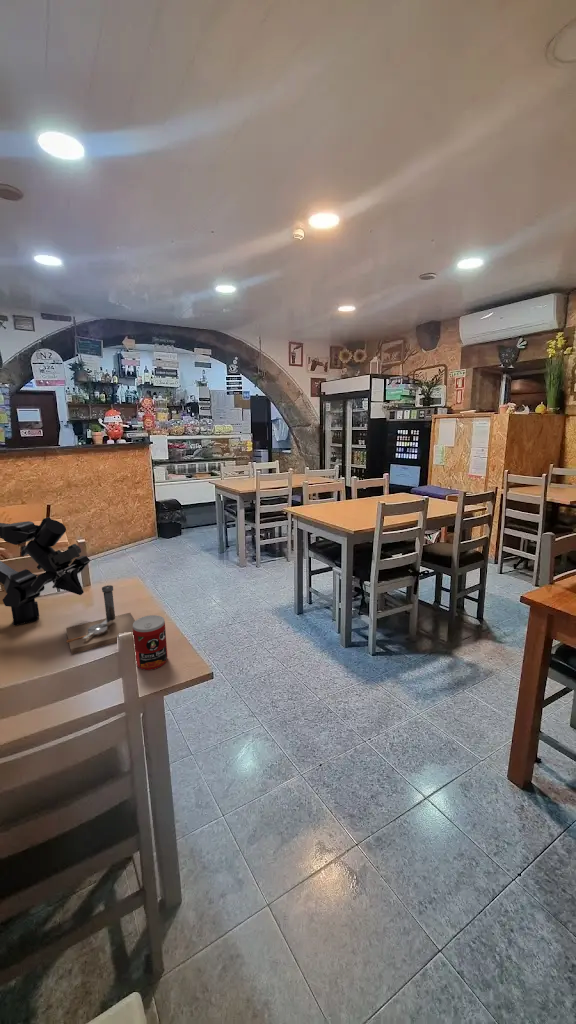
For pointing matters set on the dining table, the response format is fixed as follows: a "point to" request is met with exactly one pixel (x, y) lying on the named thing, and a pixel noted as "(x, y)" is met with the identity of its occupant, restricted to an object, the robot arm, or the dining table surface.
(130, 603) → the dining table surface
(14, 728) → the dining table surface
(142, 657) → the canned food
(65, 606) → the dining table surface
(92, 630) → the crank handle
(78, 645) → the stand
